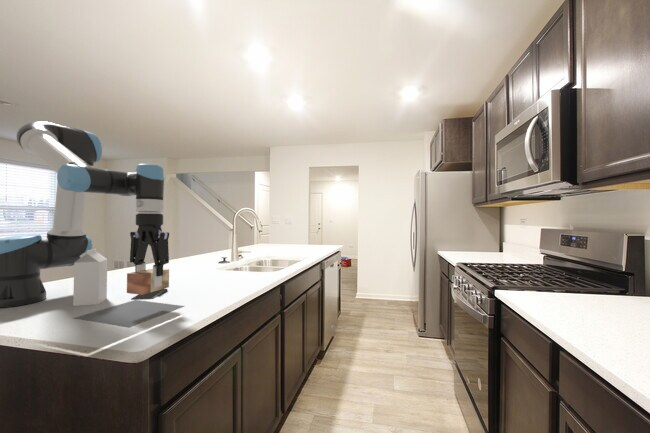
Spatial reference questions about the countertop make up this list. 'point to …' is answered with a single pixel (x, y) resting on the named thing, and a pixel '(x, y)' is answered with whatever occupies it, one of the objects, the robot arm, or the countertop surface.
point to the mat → (129, 313)
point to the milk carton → (90, 279)
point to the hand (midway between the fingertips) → (148, 285)
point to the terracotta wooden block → (145, 282)
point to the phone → (150, 295)
